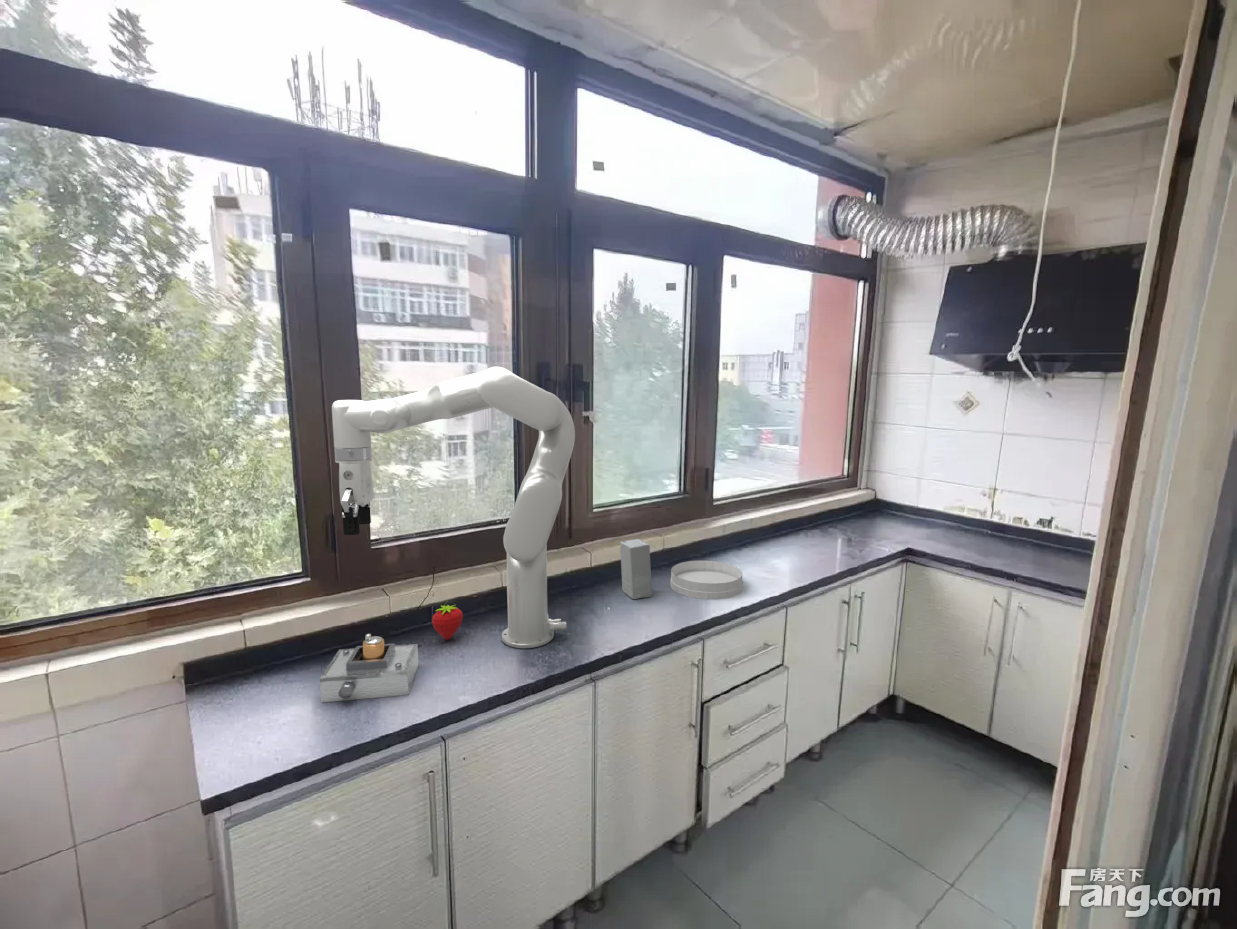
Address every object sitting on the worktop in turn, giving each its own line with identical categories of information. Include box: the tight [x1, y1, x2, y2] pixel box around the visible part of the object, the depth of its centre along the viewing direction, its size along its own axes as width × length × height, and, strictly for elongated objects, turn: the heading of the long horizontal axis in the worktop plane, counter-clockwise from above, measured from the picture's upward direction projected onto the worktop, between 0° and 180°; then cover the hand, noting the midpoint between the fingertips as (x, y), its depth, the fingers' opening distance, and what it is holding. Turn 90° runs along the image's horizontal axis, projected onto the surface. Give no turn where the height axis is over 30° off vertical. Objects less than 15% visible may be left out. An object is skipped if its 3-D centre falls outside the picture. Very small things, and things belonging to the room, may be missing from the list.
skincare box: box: [619, 538, 653, 600], centre depth 165 cm, size 8×7×16 cm
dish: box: [669, 560, 744, 600], centre depth 173 cm, size 22×22×5 cm
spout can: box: [362, 633, 385, 660], centre depth 115 cm, size 4×4×10 cm
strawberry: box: [431, 600, 464, 641], centre depth 135 cm, size 6×8×10 cm
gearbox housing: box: [319, 643, 420, 703], centre depth 114 cm, size 16×14×6 cm
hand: (358, 529), depth 128 cm, fingers open, 9 cm apart
